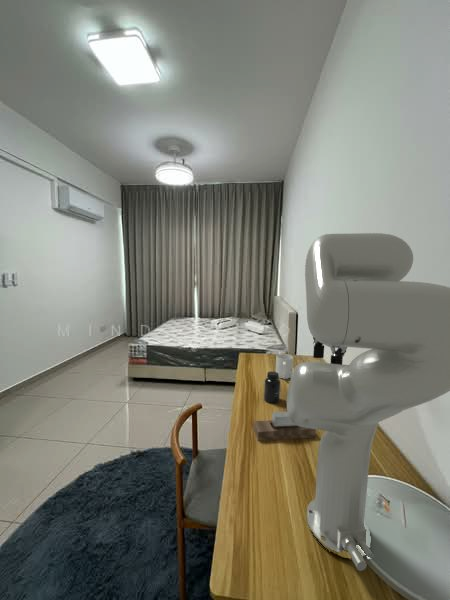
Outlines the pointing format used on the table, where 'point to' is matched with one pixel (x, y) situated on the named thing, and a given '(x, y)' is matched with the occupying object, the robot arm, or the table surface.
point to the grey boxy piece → (281, 420)
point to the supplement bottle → (272, 387)
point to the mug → (284, 366)
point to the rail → (281, 431)
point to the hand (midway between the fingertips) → (326, 363)
